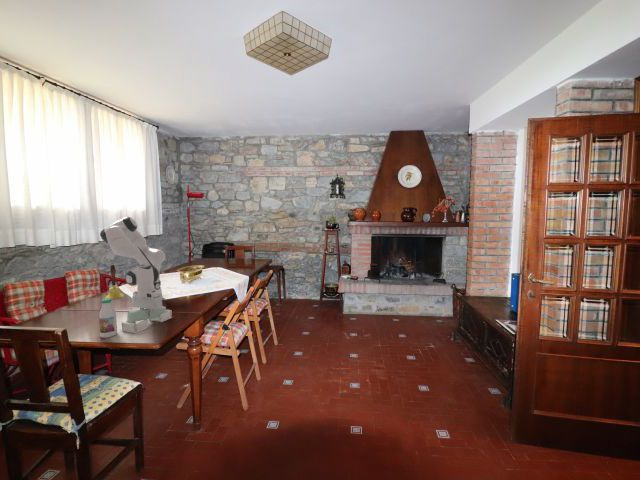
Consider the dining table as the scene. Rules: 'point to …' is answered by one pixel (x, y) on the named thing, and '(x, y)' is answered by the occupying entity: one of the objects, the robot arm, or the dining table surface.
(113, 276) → the handbell
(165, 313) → the endcap
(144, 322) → the endcap
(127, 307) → the dining table surface
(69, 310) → the dining table surface
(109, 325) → the milk bottle
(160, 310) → the slat
